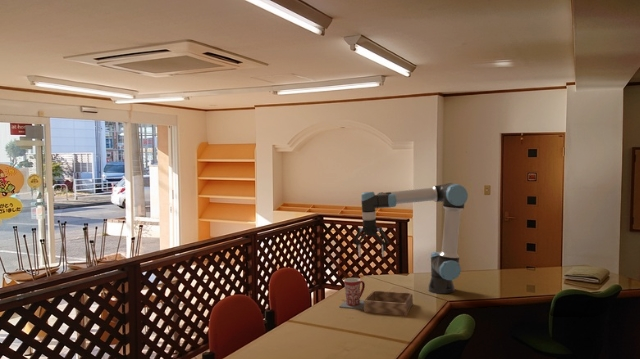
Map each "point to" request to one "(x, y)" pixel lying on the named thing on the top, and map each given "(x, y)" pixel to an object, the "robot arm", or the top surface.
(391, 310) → the crate
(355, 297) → the mug
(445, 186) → the robot arm
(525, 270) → the top surface
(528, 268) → the top surface
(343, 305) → the mat
